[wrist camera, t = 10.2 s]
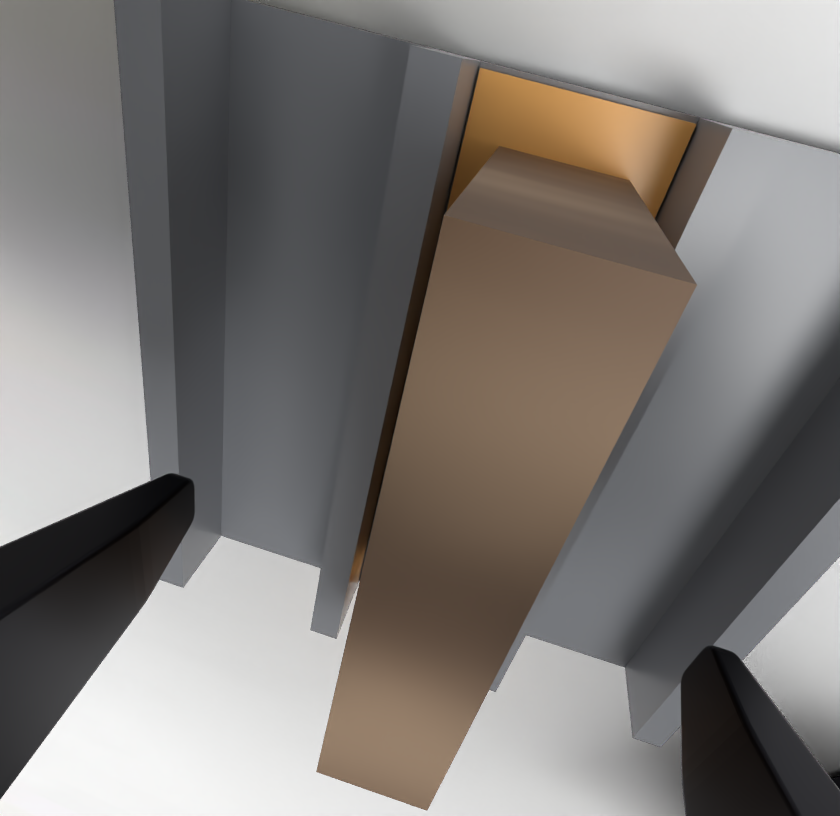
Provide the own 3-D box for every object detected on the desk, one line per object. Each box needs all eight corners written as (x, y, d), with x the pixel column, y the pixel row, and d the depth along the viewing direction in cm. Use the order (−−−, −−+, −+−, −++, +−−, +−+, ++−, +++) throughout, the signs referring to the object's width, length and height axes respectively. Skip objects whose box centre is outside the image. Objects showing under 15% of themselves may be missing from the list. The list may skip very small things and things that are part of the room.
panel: (466, 590, 17) (427, 810, 12) (388, 565, 17) (316, 772, 12) (629, 180, 10) (697, 285, 5) (499, 146, 10) (443, 215, 5)
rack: (1003, 196, 10) (1231, 259, 6) (639, 668, 18) (657, 803, 15) (208, -11, 11) (51, -47, 7) (208, 528, 19) (133, 624, 16)
